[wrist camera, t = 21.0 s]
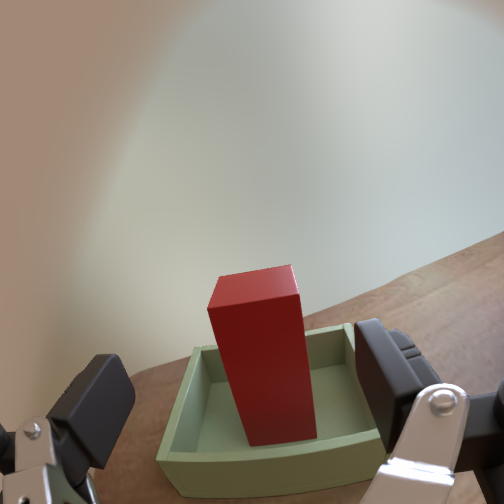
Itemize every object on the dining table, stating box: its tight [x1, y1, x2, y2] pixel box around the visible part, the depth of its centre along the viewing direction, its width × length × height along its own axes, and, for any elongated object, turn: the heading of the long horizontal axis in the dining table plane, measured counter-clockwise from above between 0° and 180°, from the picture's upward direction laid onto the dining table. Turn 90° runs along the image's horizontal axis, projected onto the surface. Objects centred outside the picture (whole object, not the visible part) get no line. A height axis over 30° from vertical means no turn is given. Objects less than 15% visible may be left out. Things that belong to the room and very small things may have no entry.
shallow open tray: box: [156, 323, 392, 498], centre depth 22 cm, size 15×14×5 cm
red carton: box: [207, 265, 317, 447], centre depth 20 cm, size 5×5×12 cm
